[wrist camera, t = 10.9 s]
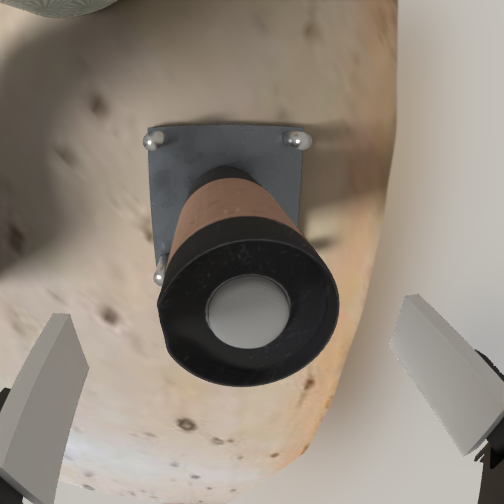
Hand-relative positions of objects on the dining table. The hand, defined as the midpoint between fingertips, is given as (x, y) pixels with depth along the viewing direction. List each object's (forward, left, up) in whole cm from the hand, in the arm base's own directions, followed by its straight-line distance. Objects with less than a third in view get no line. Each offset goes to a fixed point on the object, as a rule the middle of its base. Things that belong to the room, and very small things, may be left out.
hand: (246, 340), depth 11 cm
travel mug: (0, 0, -21) cm, 21 cm away
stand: (0, 0, -23) cm, 22 cm away
